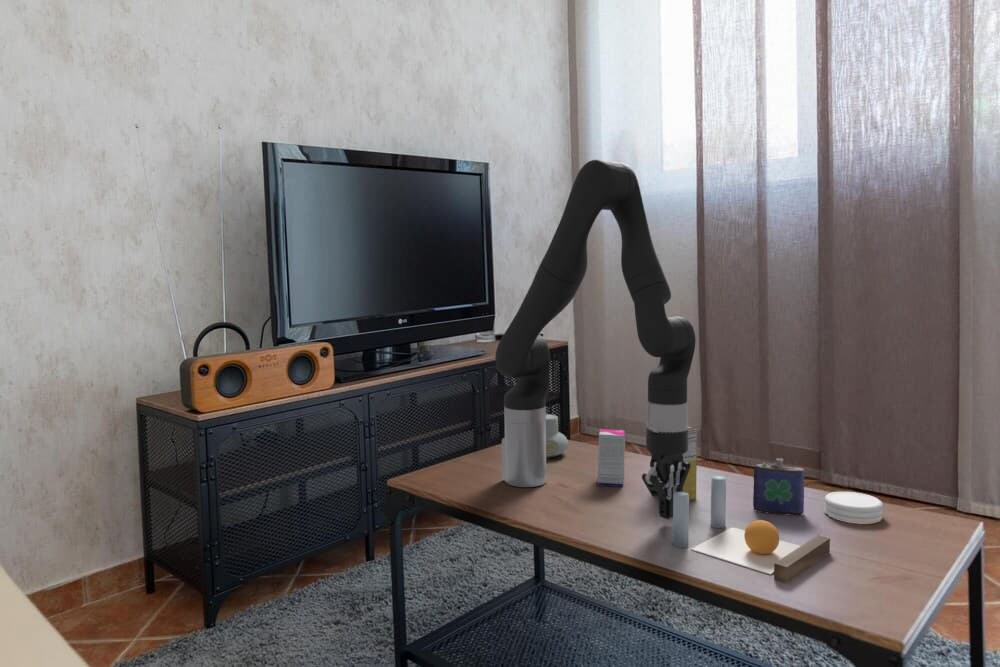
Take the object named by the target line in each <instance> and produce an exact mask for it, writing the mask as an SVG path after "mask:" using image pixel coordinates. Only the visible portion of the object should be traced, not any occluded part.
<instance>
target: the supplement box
mask: <svg viewBox="0 0 1000 667" xmlns="http://www.w3.org/2000/svg"><path fill="white" fill-rule="evenodd" d="M598 433H599V434H598V452H597V453H598V456H597V457H598V459H597V460H598V462H597V486H604V485H610V486H609V487H623V486H624V485H625V484H624V480H625V459H626V458H625V452H626V451H625V450H626V449H625V448H626V430H624V429H607V428H606V429H605V428H600V429H599V432H598Z"/></svg>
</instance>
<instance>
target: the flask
mask: <svg viewBox="0 0 1000 667" xmlns="http://www.w3.org/2000/svg"><path fill="white" fill-rule="evenodd" d="M775 460H776V461H775V462H774V463H773V464H772V463H769V462H768V463H766V462H762V463H758V464H754V467H753V497H752V498H753V499H752V503H753V504H752V505H753V506H752V507H753V511H754V510H756V511H755V512H757V511H761V512H760V513H763V512H768V513H767V514H770V513H775V514H774V515H781V514H789V515H788V516H793V515H797V516H801V514H803V515H804V512H805V469H804V468H802V467H798V466H796V467H794V466H785V465H784V463H783V462H784V460H785V459H784V458H782V457H779V458H776V459H775Z"/></svg>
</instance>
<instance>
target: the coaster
mask: <svg viewBox="0 0 1000 667" xmlns="http://www.w3.org/2000/svg"><path fill="white" fill-rule="evenodd" d="M823 506H824V509H823V511H824V514H825V513H826V514H828V515H829V516H831V517H833V518H836V519H839V520H844V521H850V522H870V521H877V520H880V519H881V518H882V516H883V513H884V510H883V507H884V504H883V502H882V500H880V499H879V498H878V497H875V496H873V495H870V494H867V493H866V494H865V493H861V492H854V491H833V492H830V493H827V494H826V495H825V497H824V504H823ZM826 514H825V515H826ZM829 516H828V517H829ZM882 519H883V518H882Z"/></svg>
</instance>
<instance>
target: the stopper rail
mask: <svg viewBox="0 0 1000 667" xmlns="http://www.w3.org/2000/svg"><path fill="white" fill-rule="evenodd" d="M799 546H800V547H799V548H797V549H796V550H794V551H793V552H791V553H789V554H788V555H786V556H785V557H783V558H782V559H780V560H779V561H777V562H776V563H774V573H773V580H776V581H778V582H780V583H781V582H782V583H786V584H788V583H789V582H790V581H792V580H794V578H796V577H797V576H799V575H800V574H802V573H803V572H804V571H806V570H807V569H809V568H810V567H811V566H813V565H815V564H816V563H818V562H819V561H820V560H821V559H823V558H825V555H826V554H827V555H829V554H830V553H831V551H830V548H831V537H826V536H823V535H819V534H817V535H816V536H814V537H812V538H811V539H809V540H808V541H806V542H804V543H803V544H802V545H799ZM829 552H830V553H829ZM827 555H826V556H827ZM822 557H823V558H822ZM808 567H809V568H808Z"/></svg>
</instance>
